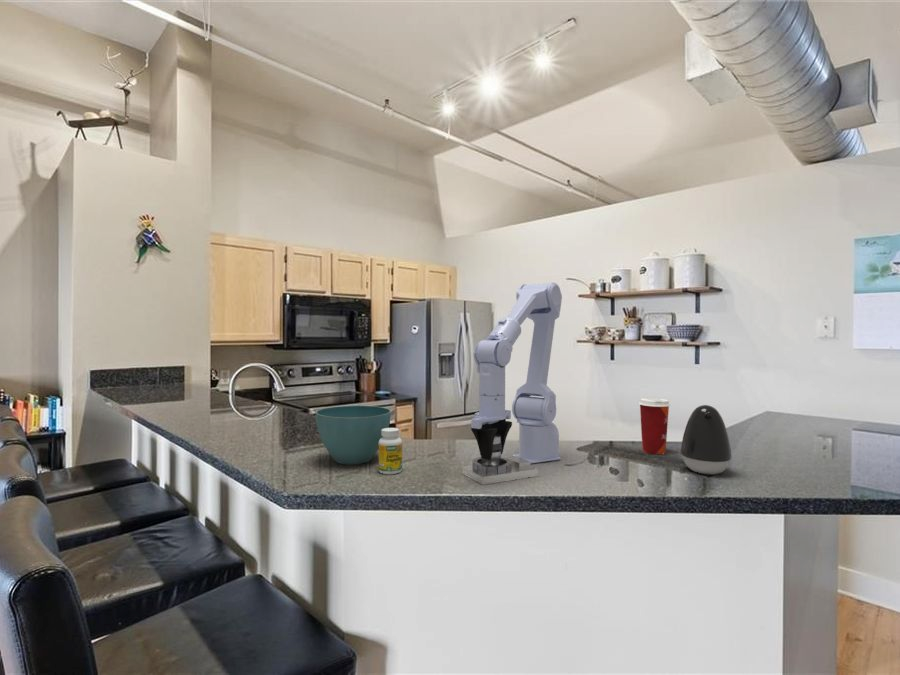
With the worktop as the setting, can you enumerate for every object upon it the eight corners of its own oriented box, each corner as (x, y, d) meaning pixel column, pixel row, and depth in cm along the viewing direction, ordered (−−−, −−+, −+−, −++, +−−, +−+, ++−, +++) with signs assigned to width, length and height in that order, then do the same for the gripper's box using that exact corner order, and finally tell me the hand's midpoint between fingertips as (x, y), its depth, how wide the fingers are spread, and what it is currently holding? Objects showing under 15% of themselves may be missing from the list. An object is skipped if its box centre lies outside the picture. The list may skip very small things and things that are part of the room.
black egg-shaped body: (683, 475, 108) (684, 407, 107) (678, 463, 117) (679, 401, 117) (735, 480, 104) (736, 409, 104) (726, 467, 114) (727, 403, 114)
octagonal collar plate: (514, 466, 115) (514, 452, 115) (537, 476, 107) (537, 461, 107) (462, 473, 109) (462, 459, 109) (482, 484, 101) (482, 469, 100)
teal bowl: (383, 449, 131) (383, 403, 131) (397, 466, 114) (397, 414, 114) (313, 454, 125) (313, 406, 125) (317, 473, 108) (317, 419, 108)
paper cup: (674, 455, 125) (675, 401, 125) (644, 455, 125) (645, 401, 125) (662, 448, 133) (662, 397, 132) (633, 448, 133) (634, 397, 132)
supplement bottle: (395, 466, 114) (395, 426, 114) (406, 472, 109) (406, 430, 109) (374, 470, 111) (374, 428, 111) (384, 476, 106) (384, 432, 106)
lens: (505, 466, 107) (505, 434, 107) (494, 472, 104) (494, 438, 103) (487, 462, 110) (487, 431, 110) (476, 468, 107) (475, 435, 106)
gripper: (492, 389, 115) (491, 447, 115) (459, 396, 103) (458, 460, 103) (519, 392, 111) (518, 451, 111) (488, 399, 99) (488, 465, 99)
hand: (491, 456), depth 107 cm, fingers closed on lens, 5 cm apart
